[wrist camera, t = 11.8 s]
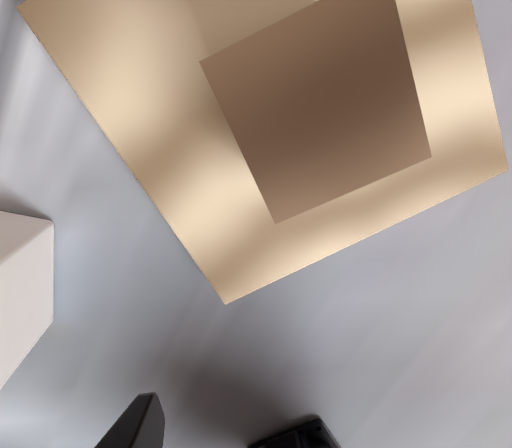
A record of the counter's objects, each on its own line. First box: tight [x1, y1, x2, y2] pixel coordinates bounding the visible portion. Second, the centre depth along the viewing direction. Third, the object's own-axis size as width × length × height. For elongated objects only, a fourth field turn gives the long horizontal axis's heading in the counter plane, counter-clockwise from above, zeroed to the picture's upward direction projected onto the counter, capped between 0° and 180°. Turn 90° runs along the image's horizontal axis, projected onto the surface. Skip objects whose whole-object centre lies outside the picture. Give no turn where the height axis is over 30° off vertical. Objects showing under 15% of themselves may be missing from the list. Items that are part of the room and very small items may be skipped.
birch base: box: [16, 0, 509, 305], centre depth 16 cm, size 16×16×2 cm
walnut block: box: [199, 0, 432, 224], centre depth 12 cm, size 5×5×6 cm
